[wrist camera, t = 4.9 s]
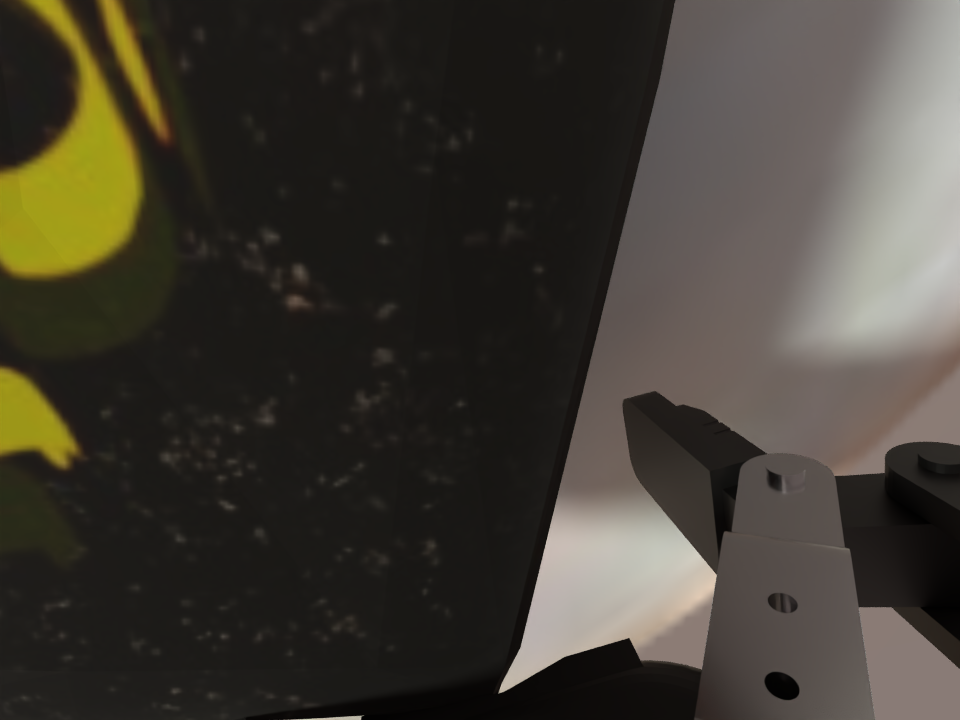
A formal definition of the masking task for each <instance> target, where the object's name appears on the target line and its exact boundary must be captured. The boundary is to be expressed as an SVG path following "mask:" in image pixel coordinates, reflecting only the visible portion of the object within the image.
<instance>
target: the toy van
mask: <svg viewBox="0 0 960 720" xmlns="http://www.w3.org/2000/svg"><path fill="white" fill-rule="evenodd" d="M674 3H675V0H0V720H236V719H240V718H244V717H245V718H246V720H291V719H312V718H330V717H347V716H363V715H379V714H395V713H403V712H409V711H415V710H421V709H427V708H433V707H439V706H446V705H450V704H453V703H457V702H460V701H464V700H468V699H471V698H475V697H478V696H481V695H492V694H498V693H499V690H500V687H501V684H502V682H503V680H504V678H505V676H506V674H507V672H508V670H509V668H510V666H511V665H512V663H513V661H514V659H515V657H516V655H517V653H518V651H519V649H520V647H521V643H522V639H523V635H524V631H525V627H526V622H527V618H528V614H529V610H530V606H531V602H532V598H533V594H534V590H535V586H536V581H537V577H538V573H539V569H540V565H541V561H542V557H543V553H544V549H545V545H546V540H547V536H548V532H549V528H550V524H551V520H552V516H553V512H554V508H555V504H556V499H557V495H558V491H559V487H560V483H561V479H562V475H563V471H564V467H565V463H566V458H567V454H568V450H569V446H570V442H571V438H572V434H573V430H574V426H575V422H576V417H577V413H578V409H579V405H580V401H581V397H582V393H583V389H584V385H585V381H586V376H587V372H588V368H589V364H590V360H591V356H592V352H593V348H594V344H595V340H596V335H597V331H598V327H599V323H600V319H601V315H602V311H603V307H604V303H605V299H606V294H607V290H608V286H609V282H610V278H611V274H612V270H613V266H614V262H615V258H616V254H617V249H618V245H619V241H620V237H621V233H622V229H623V225H624V221H625V217H626V213H627V209H628V205H629V201H630V197H631V192H632V188H633V184H634V180H635V176H636V172H637V168H638V164H639V160H640V156H641V152H642V148H643V144H644V140H645V136H646V132H647V128H648V124H649V120H650V116H651V112H652V108H653V104H654V100H655V96H656V92H657V88H658V84H659V80H660V75H661V70H662V65H663V59H664V54H665V49H666V44H667V39H668V34H669V29H670V23H671V18H672V13H673V8H674Z"/></svg>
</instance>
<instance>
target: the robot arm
mask: <svg viewBox="0 0 960 720" xmlns="http://www.w3.org/2000/svg"><path fill="white" fill-rule="evenodd" d="M623 414H624V421H625V427H626V434H627V440H628V446H629V453H630V459H631V463H632V466H633V469H634V472H635V474H636V476H637V478H638V480H639V482H640V483H641V484H642V486H643V487H644V488H645V489H646V490H647V492H648V493H649V494H650V495H651V496H652V498H653V499H654V500H655V501H656V502H657V504H658V505H659V506H660V507H661V508H662V510H663V511H664V512H665V513H666V514H667V516H668V517H669V518H670V519H671V520H672V522H673V523H674V524H675V525H676V526H677V528H678V529H679V530H680V531H681V532H682V534H683V535H684V536H685V537H686V538H687V540H688V541H689V542H690V543H691V544H692V546H693V547H694V548H695V549H696V550H697V552H698V553H699V554H700V555H701V556H702V558H703V559H704V560H705V561H706V562H707V564H708V565H709V566H710V567H711V568H712V570H713V571H714V572H715V573H716V574H717V577H716V583H715V590H714V596H713V603H712V609H711V616H710V622H709V629H708V635H707V641H706V648H705V654H704V660H703V667H702V670H701V669H698V668H695V667H691V666H688V665H683V664H678V663H673V662H665V661H652V660H649V661H648V660H647V661H646V660H644V661H640V659H639V657H638V655H637V653H636V651H635V649H634V647H633V645H632V643H631V641H630V639H629V638H628V639H625V640H621V641H618V642H614V643H611V644H607V645H604V646H601V647H597V648H594V649H590V650H587V651H584V652H580V653H577V654H573V655H570V656H566V657H564V658H562V659H560V660H559V661H557V662H555V663H554V664H552V665H550V666H548V667H547V668H545V669H543V670H541V671H540V672H538V673H536V674H534V675H533V676H531V677H529V678H528V679H526V680H524V681H522V682H521V683H519V684H517V685H515V686H514V687H512V688H510V689H508V690H507V691H504V692H502V693H499V694H492V695H481V696H478V697H475V698H471V699H468V700H464V701H460V702H457V703H453V704H450V705H446V706H439V707H433V708H427V709H421V710H415V711H409V712H403V713H395V714H379V715H365V716H362V718H361V720H875V715H874V708H873V701H872V694H871V688H870V681H869V674H868V667H867V660H866V654H865V647H864V641H863V634H862V627H861V620H860V613H859V607H892V608H893V609H894V610H895V611H896V612H898V614H899V615H901V616H902V617H903V618H904V619H905V620H906V621H907V622H909V624H911V625H912V626H913V627H914V628H915V629H916V630H917V631H918V632H919V633H921V634H922V635H923V636H924V637H925V638H926V639H927V640H928V641H930V642H931V643H932V644H933V645H934V646H935V647H936V648H937V649H938V650H940V651H941V652H942V653H943V654H944V655H945V656H946V657H947V658H948V659H949V660H951V661H952V662H953V663H954V664H955V665H956V666H957V667H958V668H960V446H959V445H953V444H948V443H939V442H913V443H907V444H902V445H899V446H896V447H894V448H892V449H891V450H889V451H888V452H887V454H886V456H885V473H880V474H864V475H849V476H834V474H833V472H832V471H831V470H830V469H829V468H828V467H827V466H825V465H824V464H822V463H821V462H819V461H816V460H814V459H811V458H808V457H805V456H801V455H795V454H786V453H774V454H767V453H765V452H764V451H762V450H761V449H759V448H758V447H756V446H755V445H754V444H752V443H751V442H749V441H748V440H746V439H745V438H743V437H742V436H740V435H739V434H737V433H736V432H734V431H731V430H730V428H729V427H727V426H726V425H724V424H723V423H721V422H720V423H719V422H718V420H717V419H715V418H714V417H712V416H711V415H710V414H708V413H707V412H705V411H703V410H700V409H697V408H693V407H690V406H686V405H680V406H675V405H674V404H673V403H671V402H670V401H669V400H667V399H666V398H665V397H663V396H662V395H660V394H659V393H658V392H656V391H653V392H649V393H646V394H642V395H638V396H634V397H631V398H627V399H624V401H623ZM236 720H246V718H245V717H244V718H240V719H236Z"/></svg>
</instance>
